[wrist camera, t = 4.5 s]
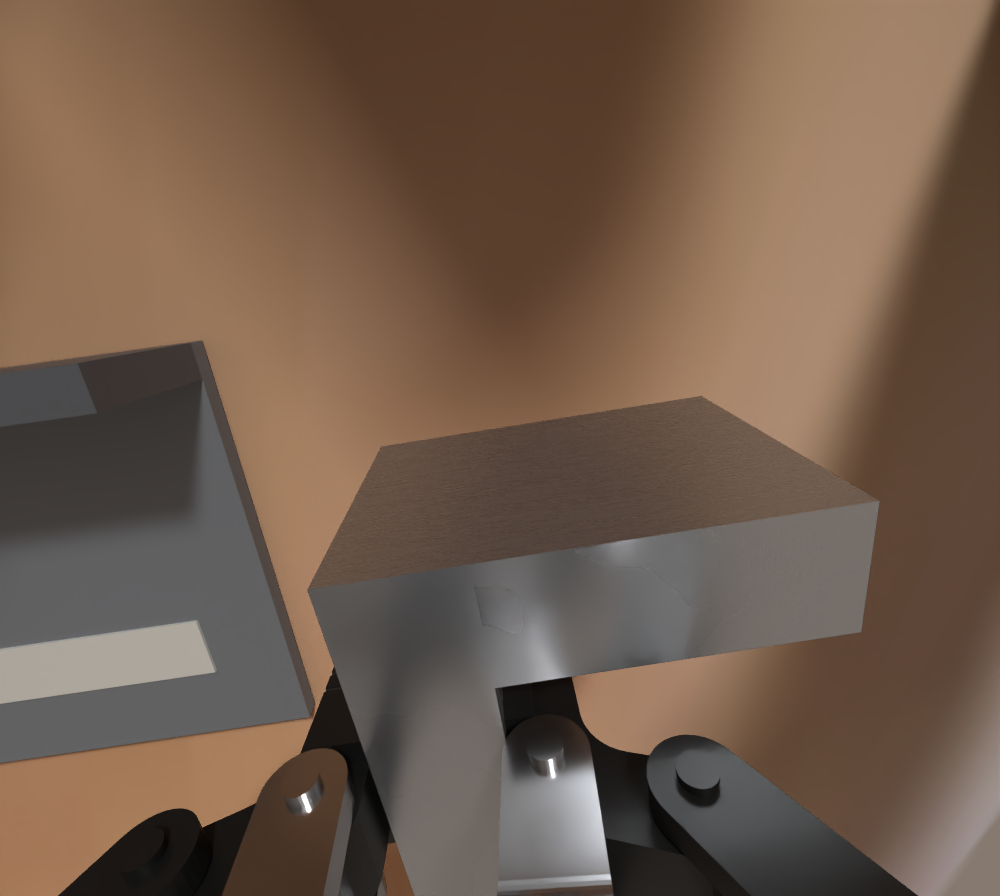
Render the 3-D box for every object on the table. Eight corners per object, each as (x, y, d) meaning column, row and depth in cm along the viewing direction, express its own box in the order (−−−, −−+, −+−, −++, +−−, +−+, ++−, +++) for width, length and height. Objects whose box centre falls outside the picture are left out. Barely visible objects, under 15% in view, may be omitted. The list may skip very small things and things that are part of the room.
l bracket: (380, 446, 11) (307, 590, 6) (701, 395, 11) (879, 501, 6) (456, 742, 14) (446, 985, 9) (702, 704, 14) (819, 930, 9)
